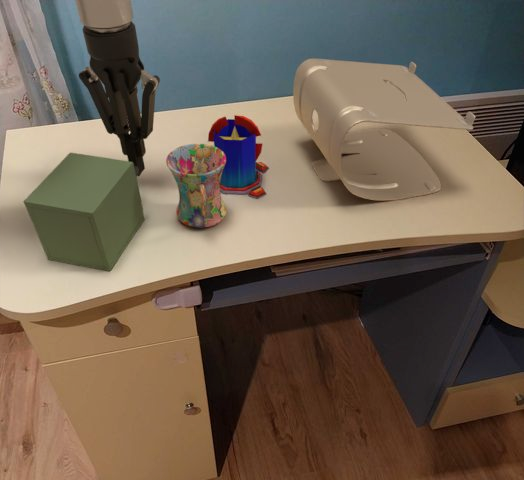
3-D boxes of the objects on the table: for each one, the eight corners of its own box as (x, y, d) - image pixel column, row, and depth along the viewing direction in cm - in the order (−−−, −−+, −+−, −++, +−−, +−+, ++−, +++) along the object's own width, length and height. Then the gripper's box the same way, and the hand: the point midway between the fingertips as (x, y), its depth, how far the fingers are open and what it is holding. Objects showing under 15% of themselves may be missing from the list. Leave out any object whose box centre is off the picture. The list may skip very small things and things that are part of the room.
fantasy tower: (200, 196, 89) (194, 131, 79) (208, 161, 96) (204, 97, 87) (266, 199, 88) (267, 134, 79) (269, 163, 96) (271, 100, 87)
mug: (172, 203, 87) (163, 146, 79) (224, 197, 89) (220, 140, 80) (179, 246, 80) (171, 188, 72) (236, 239, 81) (234, 181, 73)
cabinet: (87, 209, 86) (70, 152, 78) (144, 219, 84) (132, 161, 76) (47, 259, 78) (23, 201, 69) (110, 271, 76) (92, 213, 68)
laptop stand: (288, 140, 101) (293, 58, 89) (393, 125, 106) (411, 45, 94) (334, 212, 86) (347, 125, 74) (454, 192, 90) (485, 106, 78)
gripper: (160, 18, 73) (179, 166, 91) (79, 10, 75) (114, 155, 93) (139, 37, 68) (164, 188, 86) (54, 27, 70) (95, 177, 88)
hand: (138, 171), depth 90 cm, fingers closed
